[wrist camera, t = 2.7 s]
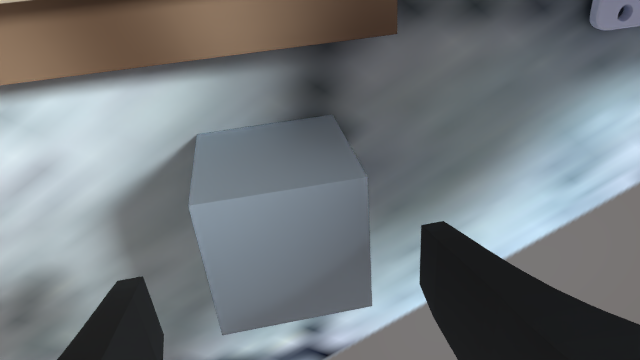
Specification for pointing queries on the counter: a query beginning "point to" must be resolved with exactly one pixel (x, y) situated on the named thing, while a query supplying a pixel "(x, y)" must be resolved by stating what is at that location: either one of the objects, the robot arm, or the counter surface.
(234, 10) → the base board
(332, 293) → the block
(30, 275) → the counter surface
